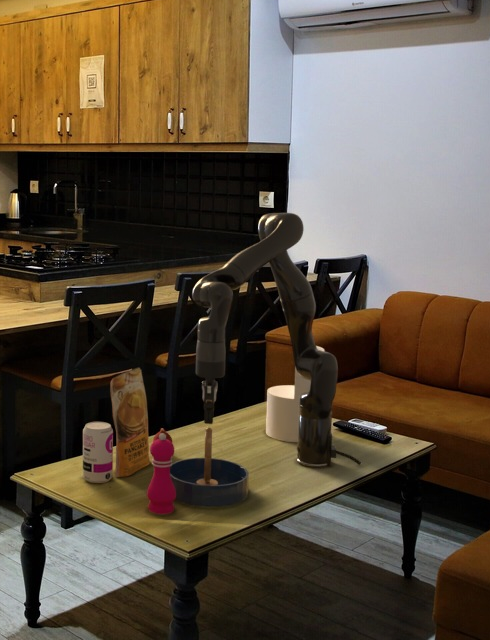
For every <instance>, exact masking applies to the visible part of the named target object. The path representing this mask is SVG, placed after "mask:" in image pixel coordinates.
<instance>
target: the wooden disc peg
mask: <svg viewBox="0 0 490 640" xmlns="http://www.w3.org/2000/svg"><path fill="white" fill-rule="evenodd" d="M212 446H213V429H212V427H209V426H208V427H206V428H205V429H204V458H205V459H204V479H199V480H197V484H201V485H218V482H217V481H216V480H213V479H211V458H213V457H212V454H213V452H212V450H213V447H212Z"/></svg>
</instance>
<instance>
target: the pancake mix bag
mask: <svg viewBox="0 0 490 640" xmlns="http://www.w3.org/2000/svg"><path fill="white" fill-rule="evenodd" d="M109 384H110V386H109V387H110V388H109V392H110V399H111V406H112V419H113V425H114V429H115V438H116V439H115V441H116V442H115V443H116V445H115V469H114V475H115V477H116V478H121V477H129V476H132V475H134V474H136V473H137V471H140V470H141V469H142V468H145V467H147V466H149V465H150V464H151V461H150V456H149V455H150V454H149V453H150V444H149V443H150V442H149V440H150V438H149V414H148V401H147V400H148V399H147V393H146V388H145V384H144V377H143V372H142V369H141V367H135V368H133V369H131V370H128V371H124V372H122V373H121V374H118V375H116V376H115V377H113V378H112V379H111V380H110V383H109Z"/></svg>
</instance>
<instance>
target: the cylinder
mask: <svg viewBox="0 0 490 640" xmlns="http://www.w3.org/2000/svg"><path fill="white" fill-rule="evenodd" d="M316 347H317V349H318V350H321V351H324V352H326V350H325V348H323V347H321V346H318V345H316ZM310 385H311V381H310V380H307V379H304V378H303V377H301V376H300V375H299V374H298V372H297V370H296V367H294V384H293V385H292V384H290V385H289V384H286V385H285V384H284V385H282V384H281V385H274V386H271V387H269V388H267V390H266V417H265V418H266V419H265V434H266V435H267V436H268V437H270V438H271V439H275V440H278V441H280V442H281V441H282V442H287V443H298V432H299V407H300V396H301V394H302V393H304V392H309V391H310Z"/></svg>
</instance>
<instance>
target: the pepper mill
mask: <svg viewBox="0 0 490 640" xmlns="http://www.w3.org/2000/svg"><path fill="white" fill-rule="evenodd" d="M172 442H173V441H172ZM172 442H171V441H169V440H167V439H166V435H165V434H164V433H161V434H160V435H159V439H157V440H155V441H154V442H153V441H152V443H151V445H150V446H149V453H150V455H151V456H152V458H151V465H152V466H153V474H152V478H151V480H150V483H149V485H148V486H147V490H146V497H147V499H148V501H149V503H148V511H149V512H151V513H153V514H157V515H168V514H171V513H174V510H175V504H174V501H175V500H176V499H175V498H176V490H175V487H174V485H173V482H172V480H171V477H170V466H171V465H172V463H173V459H172V457H173V456H174V454H175V445H174V443H172Z"/></svg>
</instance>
